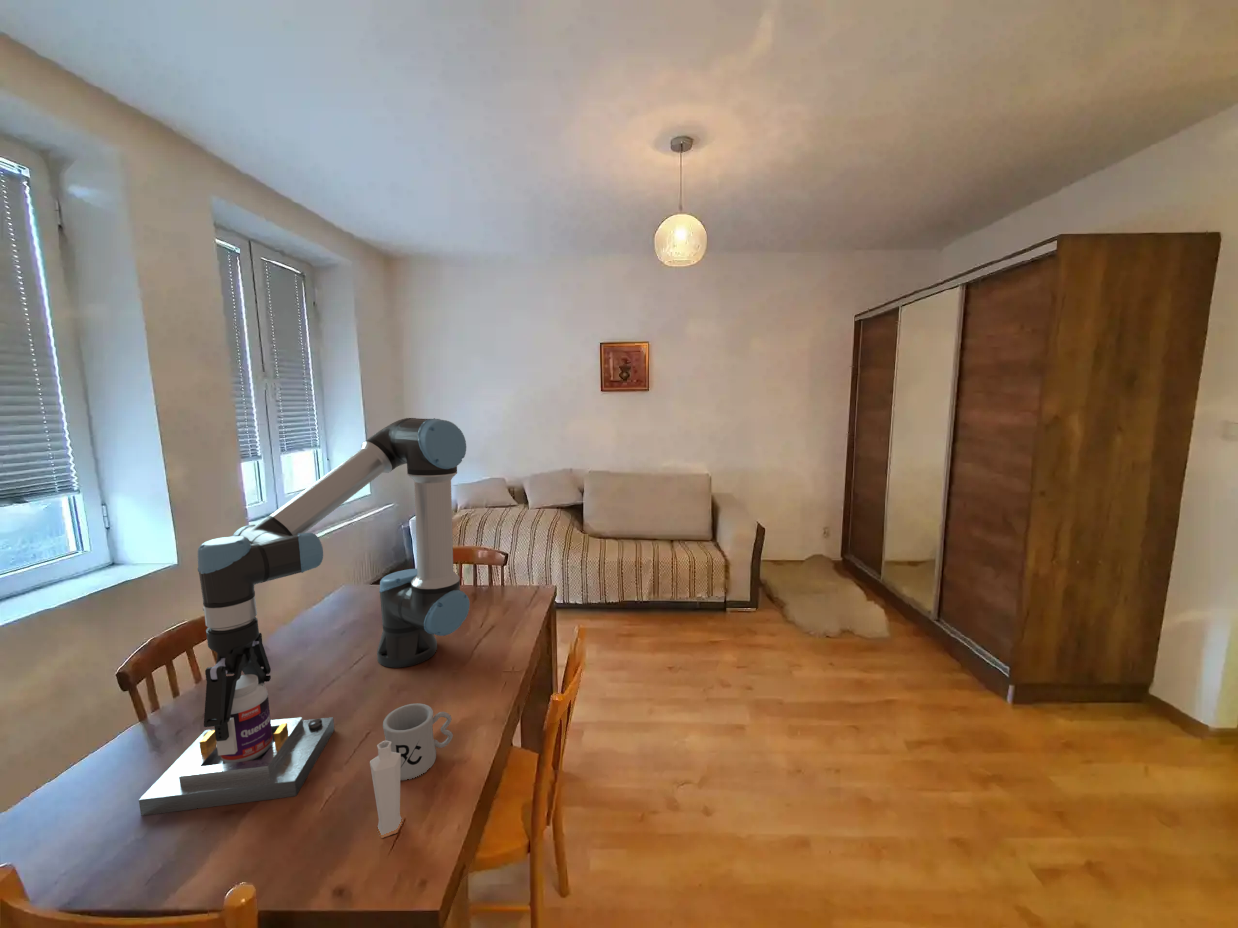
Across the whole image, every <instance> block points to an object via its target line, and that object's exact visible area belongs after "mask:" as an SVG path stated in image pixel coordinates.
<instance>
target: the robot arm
mask: <svg viewBox="0 0 1238 928" xmlns="http://www.w3.org/2000/svg"><path fill="white" fill-rule="evenodd" d="M466 453H467V441H466V437H465V435H464V433H463V431H462V430H461V428H459V426H458V425H457V424H455V423H454V422H452V421H449V420H444V419H440V418H420V417H419V418H416V417H406V418H401V419H398V420H396V421H394V422H391V423H390V424H389V425H386V426H384V427H383V428H381V429H380V430H378V431H377V432H376V433H374V434H373V435H371V436H370V437H369V438H367V439H366V440H365V441H363V442H362V443H361V445H360V449H359V450H358V451H356V452H355V453H354V454H353V455H351V456H349V457H348V458H347V459H346V460H344V461H343V462H341V463H340V464H338V465H337V466H335V467H334V468H333V469H331V470H330V471H329V472H328V473H326V474H325V475H324V476H322V477H321V478H320V479H318V480H317V481H315V482H313V483H312V484H311V485H310V486H308V487H307V488H305V489H304V490H303V491H301V492H300V493H298V494H297V495H296V496H294V497H293V498H292V499H290V500H289V501H287V502H286V503H284V504H283V505H282V506H280V507H279V508H278V509H276V510H275V511H273V512H272V513H270V515H268V516H266V517H265V518H263V519H262V520H261V521H259V522H258V523H256V524H248V525H245V526H242V527H240V528H238V529H237V530H236V531H235V532H234V533H233V534H232V535H230V536H222V537H216V538H213V539H208V540H206V541H205V542H203V543H201V544H200V545H199V546H198V549H197V572H198V575H199V582H200V589H201V595H202V605H203V607H202V611H203V613H204V620H205V621H204V622H205V627H207V628H206V629H205V632H206V642H207V647H208V648H209V650H211V651H214V652H215V653H217V654H216V663H215V665H214V666H209V667H207V668H205V671H204V672H205V673H204V674H205V680H206V684H205V685H206V688H205V689H206V690H205V701H204V713H203V715H204V717H203V728H210V727H211V728H213V727H214V729H215V734H216V742H217V750H218V756H219V755H228V754H235V753H236V752H237V742H236V733H235V725H234V717H233V718H230V716H231V710H232V705H233V699H234V694H235V688H236V683H237V680H239V679H240V677H241V675H242V673H243V675H247V674H253V675H256V676H257V677H258V685H261V686H263V687H265V688H266V682H270V681H271V677H272V676H271V675H270V674H271V672H272V670H271V666H270V663H269V660H268V657H267V653H266V651H265V647H264V644H263V634H262V632H259V631H260V630H259V629H260V628H259V620H258V618H257V616H258V610H257V609H258V608H257V601H256V591H255V585H258V584H263V583H265V582H270V581H274V580H278V579H281V578H285V577H288V576H293V575H297V574H304V573H305V572H307V571H310V570H313V569H316V568H318V567H320V565H321V564H322V562H323V559H324V548H323V544H322V542H321V539H320V538H319V536H318V535H317V534H315V533H313V532H308V531H309V530H310V529H312V528H313V527H315V526H316V525H317V524H318V523H320V522H321V521H322V520H323V519H325V518H326V517H328V515H330V514H331V513H332V512H334V511H335V510H336V509H338V508H339V507H340V506H342V505H343V504H344V503H345V502H347V500H349V499H350V498H351V497H353V496H354V495H356V494H357V493H358V492H360V491H361V490H362V489H363V488H365V487H366V486H367V485H369V484H370V483H371V482H372V481H374V480H375V479H376V478H378V477H379V476H380V475H382V474H383V473H384V474H389V473H391V472H392V471H394V470H395V469H396V468H397V467H400V466H402V465H406V468H407V469H406V472H407V474H406V475H407V476H408V477H409V478H410V479H412V480H413V482H414V507H415V516H414V517H415V540H416V542H415V545H416V547H415V548H416V568H409V569H404V570H403V569H402V570H398V571H394V572H392V573H389V574H387V575H385V576H383V577H382V578H381V579H380V581H379V592H378V593H379V595H380V596H379V597H380V608H381V609H380V610H381V622H382V624H381V625H382V632H381V636H380V639H379V643H378V647H377V651H376V656H377V658H376V659H377V661H378V664H380V665H381V666H383V667H385V668H394V669H395V668H397V669H398V668H407V667H412V666H415V665H418V664H422V663H423V662H426V661H427V660H429V659H430V657H431V658H432V657H433V656H434V655H435V654H436V653H435V652H437V651H438V642H437V637H436V636H438V637H439V636H440V637H444V636H448V635H451V634H453V633H454V632H455V631H457V630H458V629H459V628H460V627H461V626H462V624H463V622H464V621H465V620H466V619H467V617H468V615H469V612H470V603H471V602H470V599H469V596H468V594H466V593H465V592H464V591H463V590H461V584H460V583H461V579H460V575H458V574H457V573H456V572H455V571H454V551H453V549H454V546H453V512H452V511H453V509H452V507H453V506H452V503H453V502H452V501H453V500H452V479H453V478H454V477H455V476H456V475H457V474H458V466H459V465H460V464H461V463H462V462H463V459H464V458H465V456H466ZM435 635H436V636H435ZM436 650H437V651H436ZM425 660H426V661H425Z"/></svg>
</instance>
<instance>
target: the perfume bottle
mask: <svg viewBox="0 0 1238 928" xmlns="http://www.w3.org/2000/svg"><path fill="white" fill-rule="evenodd" d="M376 747H377V755H376V756H374V758H373V759H371V760H370V761H369V766H370V772H371V778H372V784H373V785H372V787H373V791H374V797H375V805H376V810H377V817H378V823H377V824H378V825H377V827H378V829H379V831H380V833H381V835H384V834H386V833H389V832H391V831H394V830H396V829H397V828H398V826H399V824H400V822H401V819H402V817H401V780H400V767H401V754H400V753H396V752H391V741H386V739H385V740H382V741H381V742H379V743H378V744H377V745H376ZM402 820H403V819H402Z"/></svg>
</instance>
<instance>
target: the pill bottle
mask: <svg viewBox="0 0 1238 928" xmlns="http://www.w3.org/2000/svg"><path fill="white" fill-rule="evenodd" d="M270 711H271V710H270V700H269V692H268V689H267V688H266V686H265V687H263V686H261V685H258V677H257V676H256V675H253V674H247V675H245V674H241V677H240V679H239V680H237V683H236V688H235V694H234V699H233V705H232V710H231V716H230V718H233V717H234V725H235V733H236V742H237V752H236V753H235V754H228V755H220V757H221V760H222V761H223V762H224V763H226V764H227V763H235V762H244V761H252V760H254V759H256V758H258V757H259V756H261V755H262V754H264V753H265V752H266V751H267V750H268V749H269V748H270V746H271V744H272V740H273V739H272V728H271V720H272V719H271V712H270Z"/></svg>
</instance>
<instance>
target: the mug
mask: <svg viewBox="0 0 1238 928" xmlns="http://www.w3.org/2000/svg"><path fill="white" fill-rule="evenodd" d="M440 718H445V719H446V720H445V722H444V723H443V724H442V725H441V727H440V732H441V734H443V735H444V736H447V738H446V739H445V740H444V741H442V742H439V741H438V740H437V739H434V731H433V725H434V724H435V723H436V722H437V721H438V720H439V719H440ZM451 722H452V716H451V714H450V713H448V712H446V711H439V712H438V713H436V714H434V710H433V708H432V707H431V706H430V705H428V704H424V703H409V704H405V705H402V706H399V707H397V708H395V709H394V710H391V712H389V713H388V714H387V715H386V716H385V717H384V720H383V722H382V729H383V733H384V737H385V740H386V741H391V752H396V753H400V754H401V767H400V781H408V780H407V779H409V780H413V779H415V777H416V778H418V777H420V776H422V775H424V774H425V773H426V772H428V771H429V770H430V769H431V768H432V767H433V765H434V764H435V762H436V759H437V749H436V748H439V749H441V748H442V749H443V748H445V747H446V746H448V745H449V743H450V742H451V741H452V739H453V737H454V735H453V732H452V731H450V730H448V729H447V728H448V727H449V725H450V724H451ZM429 768H430V769H429ZM428 769H429V770H428ZM427 770H428V771H427ZM423 773H424V774H423ZM421 774H422V775H421ZM419 775H420V776H419ZM417 776H418V777H417ZM412 778H413V779H412Z"/></svg>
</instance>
